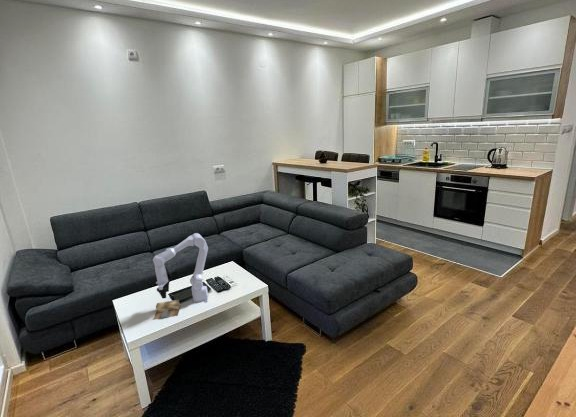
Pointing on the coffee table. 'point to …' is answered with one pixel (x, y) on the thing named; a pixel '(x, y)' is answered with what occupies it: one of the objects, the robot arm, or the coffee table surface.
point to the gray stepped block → (165, 314)
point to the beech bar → (167, 305)
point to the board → (173, 313)
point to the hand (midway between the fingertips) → (165, 294)
